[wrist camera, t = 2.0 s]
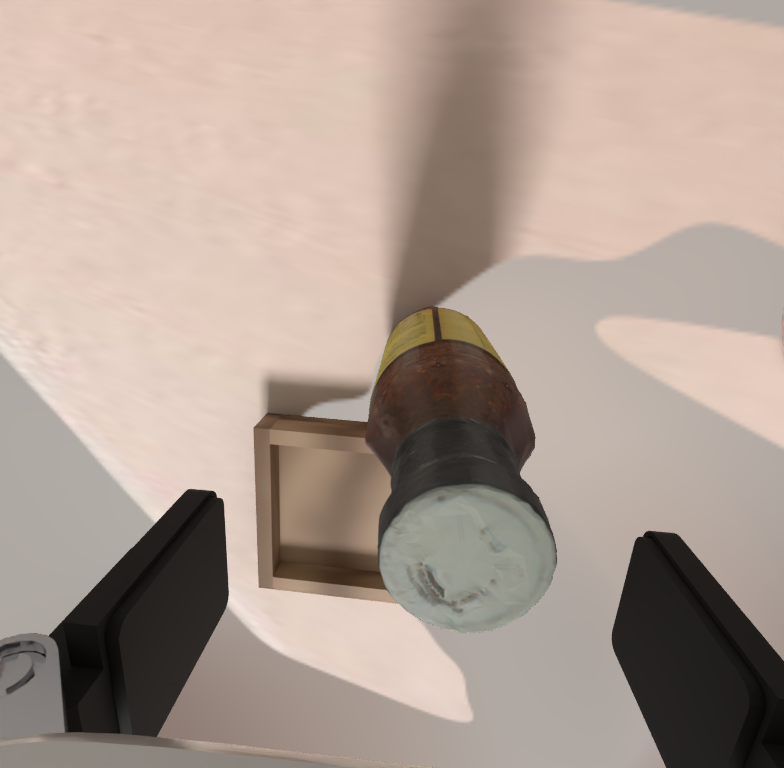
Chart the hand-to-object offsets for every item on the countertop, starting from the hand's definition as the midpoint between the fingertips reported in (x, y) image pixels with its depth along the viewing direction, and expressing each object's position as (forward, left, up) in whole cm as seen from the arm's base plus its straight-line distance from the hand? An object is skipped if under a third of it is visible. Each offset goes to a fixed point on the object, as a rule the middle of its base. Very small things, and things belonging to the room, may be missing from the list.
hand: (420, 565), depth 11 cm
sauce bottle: (-1, 0, -20) cm, 20 cm away
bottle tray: (+4, +11, -20) cm, 23 cm away
